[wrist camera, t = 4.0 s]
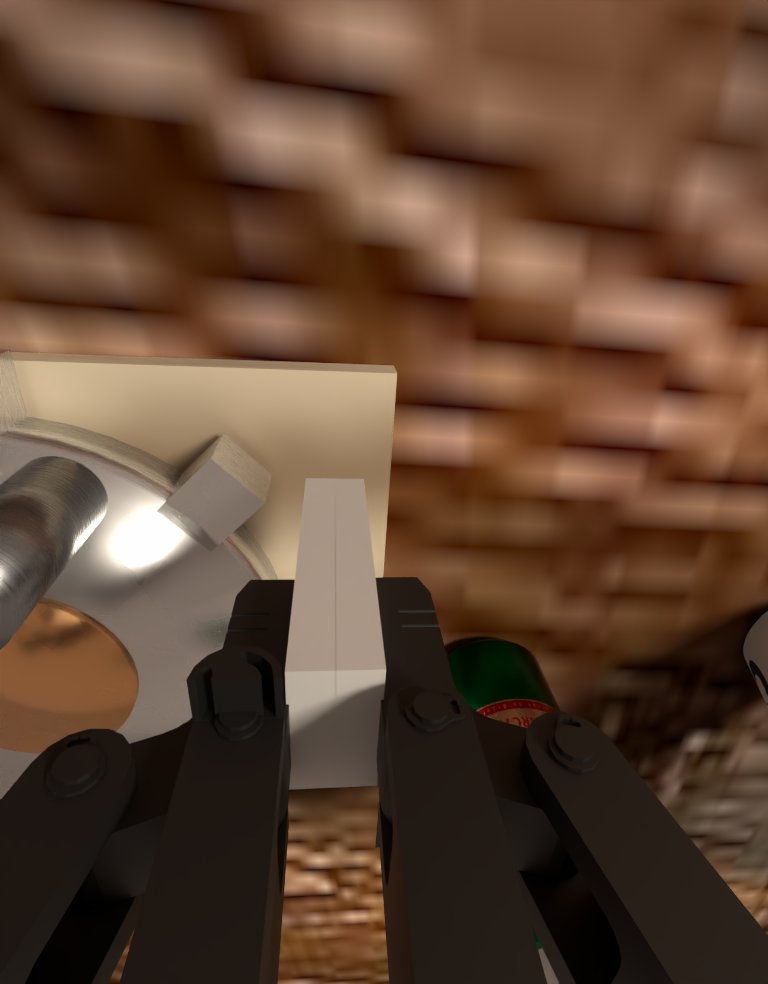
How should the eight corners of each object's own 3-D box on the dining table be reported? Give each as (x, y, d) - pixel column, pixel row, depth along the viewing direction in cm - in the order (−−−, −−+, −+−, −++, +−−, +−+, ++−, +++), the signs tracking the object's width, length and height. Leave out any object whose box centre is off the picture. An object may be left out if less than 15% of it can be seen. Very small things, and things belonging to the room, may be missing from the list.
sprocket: (-463, 332, 14) (-1133, 429, 7) (346, 361, 16) (355, 455, 10) (-141, 819, 23) (-315, 1040, 17) (335, 796, 25) (337, 984, 19)
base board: (-454, 335, 15) (-520, 345, 14) (393, 365, 17) (398, 376, 16) (-159, 785, 24) (-184, 814, 23) (367, 762, 26) (369, 787, 25)
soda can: (550, 635, 24) (729, 977, 13) (516, 713, 26) (645, 1060, 15) (441, 625, 23) (538, 982, 12) (416, 707, 25) (479, 1070, 14)
